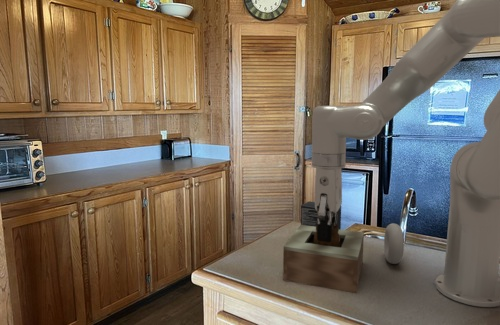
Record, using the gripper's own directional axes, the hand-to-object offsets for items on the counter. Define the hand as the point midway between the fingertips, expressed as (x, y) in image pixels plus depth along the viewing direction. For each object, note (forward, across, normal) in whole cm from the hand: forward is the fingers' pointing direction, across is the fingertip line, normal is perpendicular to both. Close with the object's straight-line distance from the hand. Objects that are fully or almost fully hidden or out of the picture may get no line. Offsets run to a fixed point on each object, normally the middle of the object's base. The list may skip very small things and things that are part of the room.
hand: (326, 235), depth 84 cm
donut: (+9, +11, -15) cm, 21 cm away
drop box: (+9, 0, 0) cm, 9 cm away
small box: (+9, +21, +5) cm, 23 cm away
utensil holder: (+5, 0, 0) cm, 5 cm away
